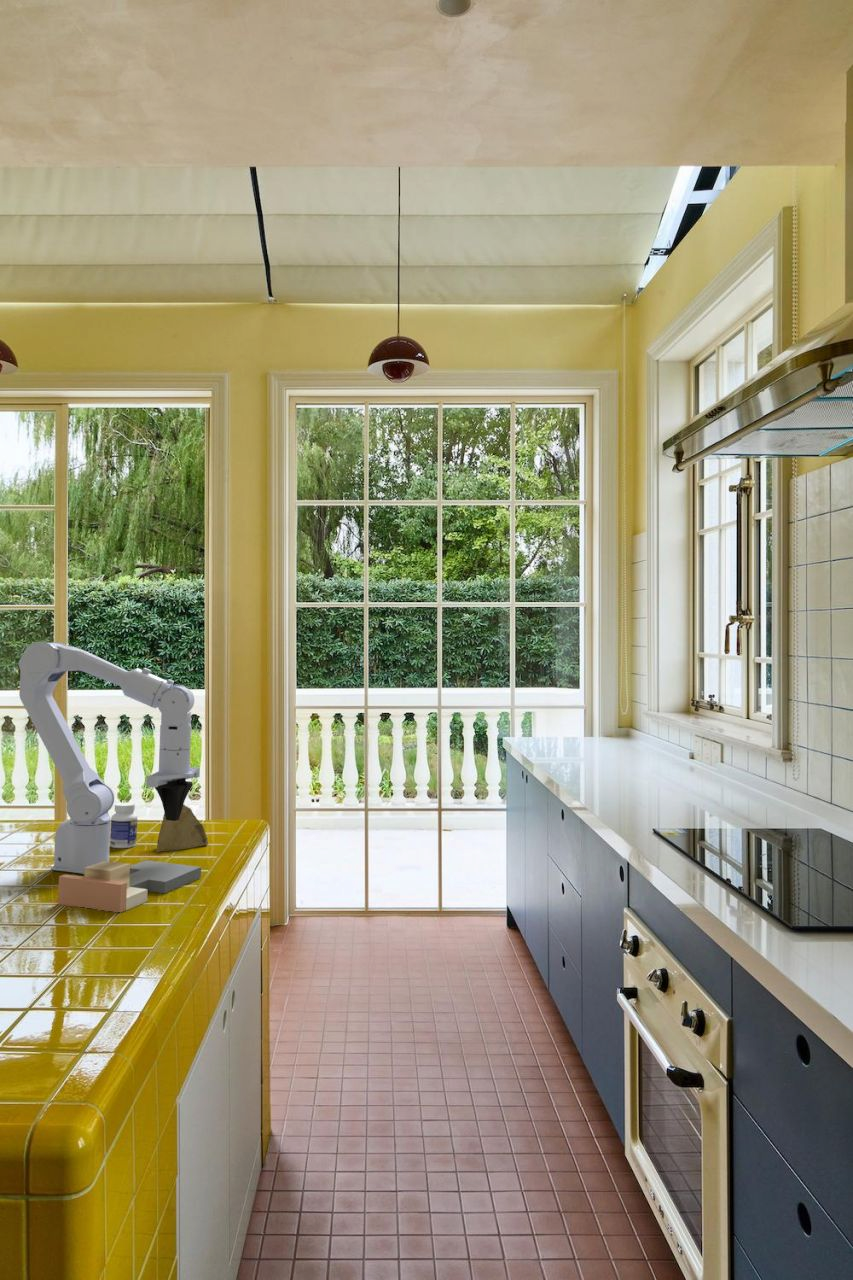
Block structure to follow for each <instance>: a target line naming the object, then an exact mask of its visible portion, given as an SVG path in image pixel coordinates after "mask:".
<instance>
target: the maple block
mask: <svg viewBox="0 0 853 1280" xmlns="http://www.w3.org/2000/svg"><path fill="white" fill-rule="evenodd" d="M130 866H131V863H125V862H119V861H110V860H109V861H103V862H100V863H97V864H94V865H91V866H88V867H85V874H84V876H83V877H89V878H97V879H105V880H112V881H120V882H127V889H128V888H129V881H130Z"/></svg>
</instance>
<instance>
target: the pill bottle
mask: <svg viewBox="0 0 853 1280" xmlns="http://www.w3.org/2000/svg"><path fill="white" fill-rule="evenodd" d="M135 807H136V804H135V803H134V802H117V803H115V804H114V812H115V813H114V814H113V815H111V816H110V818H111V820H110V821H111V822H110V848H113V849H129V848H130V849H131V848H134V847H136V846H137V839H138V838H137V837H138V836H137V835H138V834H137V832H138V815H137V814H136V813H135V812H134V811H135V809H136V808H135Z"/></svg>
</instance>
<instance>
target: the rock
mask: <svg viewBox="0 0 853 1280" xmlns="http://www.w3.org/2000/svg"><path fill="white" fill-rule="evenodd" d="M160 825H161V826H160V829H159V832H158V838H157V844H156V845H157V846H156V852H157V853H161V852H168V851H169V852H173V851H181V850H186V849H191V848H192V849H193V848H196V847H202V846H207V845H209V840H208V839H209V838H208V836H207V833H206V832H205V831H206V830H205V828H204V825H203V824H202V823H201V822H200V821H199V820H198V818H197V816H196V815H195V814H194V812H193V811H192V809H191V808H190V807H188V806H187V805H185V804H183V807H182V811H181V815H180V818H179V820H176V821H171V820H166V817H165V812H164V814H163V817H162V821H161V824H160Z"/></svg>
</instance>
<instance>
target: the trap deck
mask: <svg viewBox="0 0 853 1280" xmlns="http://www.w3.org/2000/svg"><path fill="white" fill-rule="evenodd" d="M201 877H202V867H201V866H195V865H188V864H179V863H170V862H164V861H157V860H147V859H146V860H142V861H141V862H138V863H135V864H131V865H130V881H129V888H128V889H127V882H120V881H112V880H105V879H97V878H89V877H84V876H81V875H73V874H66V873H65V874H61V875H60V876H58V891H57V892H58V897H57V905H59V906H60V905H61V906H68V907H74V906H75V907H74V908H80V907H85V908H84V909H87V908H93V909H92V910H94V909H98V910H97V911H101V910H105V911H104V912H108V911H113V912H112V913H115V912H122V913H124V912H126V911H128V910H130V909H133V908H135V907H137V906H140V905H141V904H142V905H143V904H144V903H146V902H148V892H152V893H159V894H167V893H169V892H172V891H174V890H177V889H178V888H181V887H183V886H186V885H188V884H190V883H192V882H195V881H197V880H199V879H201ZM76 906H78V907H76ZM125 910H126V911H125ZM123 911H124V912H123Z"/></svg>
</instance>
